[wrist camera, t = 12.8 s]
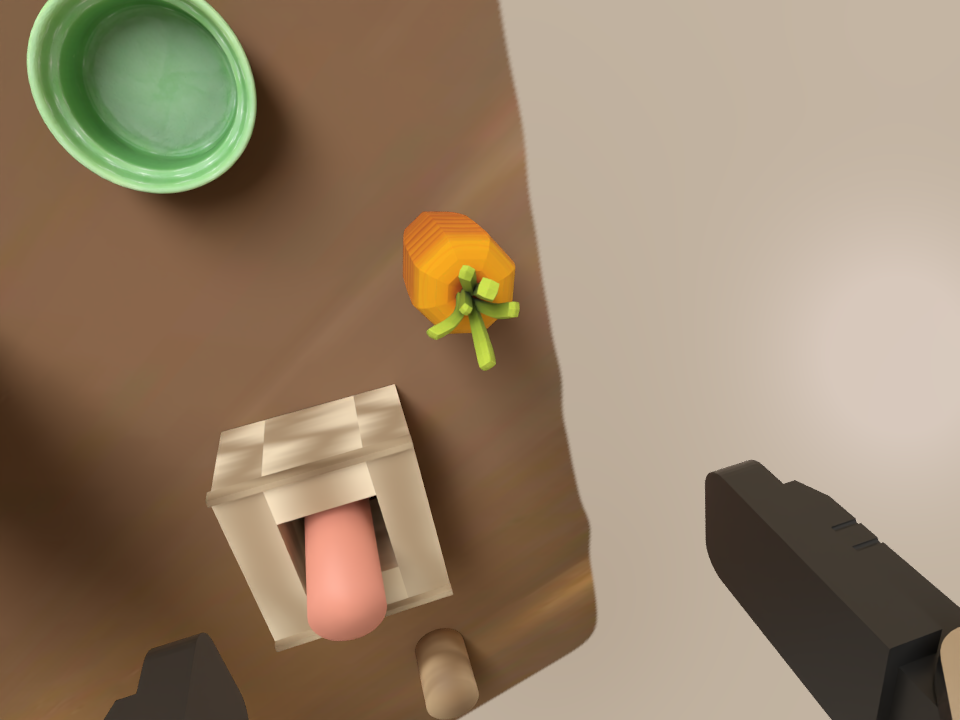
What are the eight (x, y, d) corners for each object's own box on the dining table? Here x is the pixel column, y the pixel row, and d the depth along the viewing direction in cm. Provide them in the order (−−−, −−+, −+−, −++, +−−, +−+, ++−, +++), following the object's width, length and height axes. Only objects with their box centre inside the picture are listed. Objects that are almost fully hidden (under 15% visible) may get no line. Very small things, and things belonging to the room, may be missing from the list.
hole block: (278, 565, 46) (276, 652, 40) (218, 426, 41) (205, 501, 34) (430, 518, 48) (453, 594, 41) (393, 378, 42) (412, 441, 36)
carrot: (444, 280, 40) (518, 397, 27) (368, 250, 38) (408, 361, 25) (479, 204, 39) (575, 290, 26) (402, 169, 37) (464, 243, 24)
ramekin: (95, -67, 29) (66, -83, 26) (289, 46, 33) (289, 47, 29) (32, 120, 32) (-3, 132, 28) (220, 206, 35) (211, 227, 32)
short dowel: (420, 670, 54) (432, 726, 50) (410, 638, 53) (421, 692, 48) (467, 655, 55) (482, 708, 51) (458, 622, 53) (474, 674, 49)
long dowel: (312, 507, 45) (320, 650, 35) (295, 460, 43) (297, 597, 33) (370, 490, 46) (394, 625, 35) (355, 443, 44) (376, 572, 33)
